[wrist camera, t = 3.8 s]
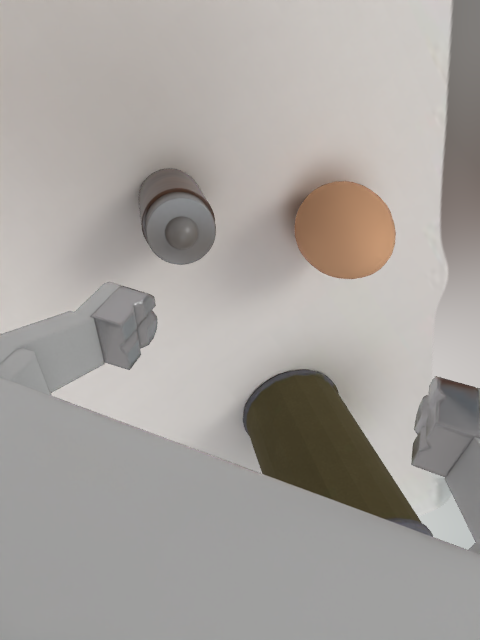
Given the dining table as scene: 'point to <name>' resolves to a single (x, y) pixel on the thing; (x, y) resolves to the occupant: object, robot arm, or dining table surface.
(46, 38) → the dining table surface
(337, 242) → the egg
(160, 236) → the pepper shaker
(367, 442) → the canister
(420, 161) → the dining table surface
